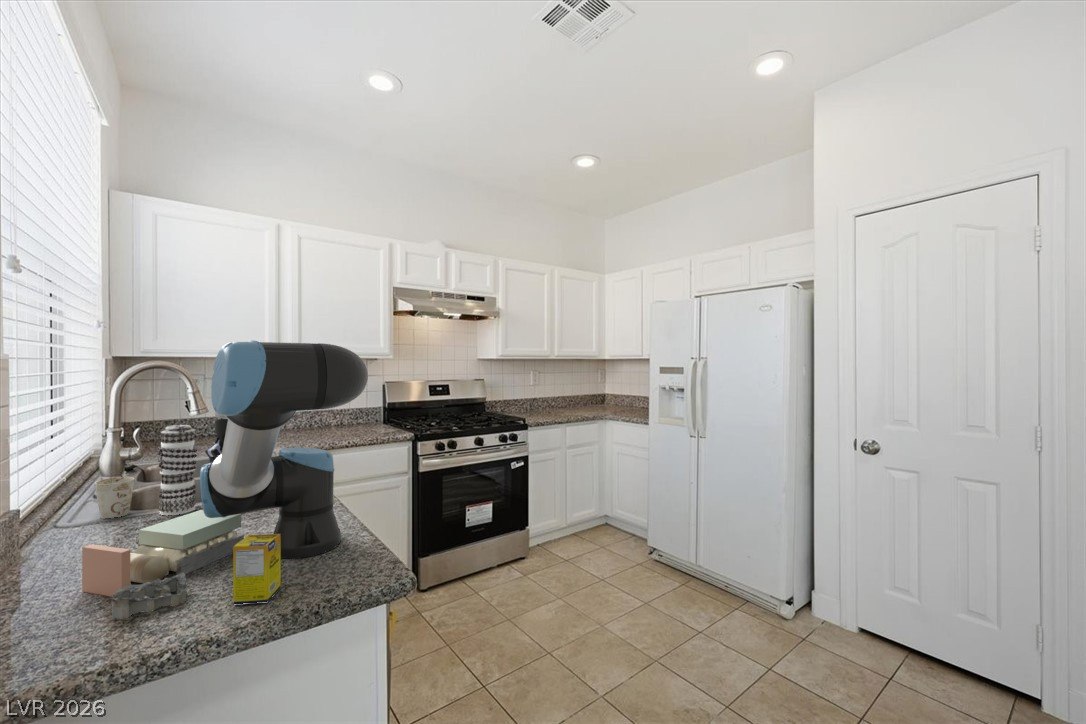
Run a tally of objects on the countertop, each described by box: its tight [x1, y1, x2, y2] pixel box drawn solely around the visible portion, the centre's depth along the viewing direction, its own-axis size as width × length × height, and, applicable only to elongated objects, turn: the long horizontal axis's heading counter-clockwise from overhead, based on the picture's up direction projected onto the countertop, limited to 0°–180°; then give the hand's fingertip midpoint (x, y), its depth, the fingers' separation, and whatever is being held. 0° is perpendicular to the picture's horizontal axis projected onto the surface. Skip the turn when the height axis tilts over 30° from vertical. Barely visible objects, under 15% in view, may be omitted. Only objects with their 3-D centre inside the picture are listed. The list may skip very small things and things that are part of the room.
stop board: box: [81, 543, 131, 598], centre depth 90 cm, size 10×2×8 cm, turn 76°
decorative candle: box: [157, 424, 198, 517], centre depth 138 cm, size 9×9×25 cm
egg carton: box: [109, 572, 188, 620], centre depth 86 cm, size 11×8×4 cm
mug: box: [94, 476, 135, 520], centre depth 135 cm, size 8×13×10 cm, turn 58°
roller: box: [130, 552, 168, 584], centre depth 95 cm, size 9×5×5 cm, turn 76°
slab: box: [138, 509, 242, 550], centre depth 106 cm, size 12×14×3 cm
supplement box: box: [232, 533, 282, 605], centre depth 88 cm, size 6×6×11 cm
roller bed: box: [133, 530, 245, 575], centre depth 105 cm, size 14×16×5 cm
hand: (232, 512), depth 116 cm, fingers closed
